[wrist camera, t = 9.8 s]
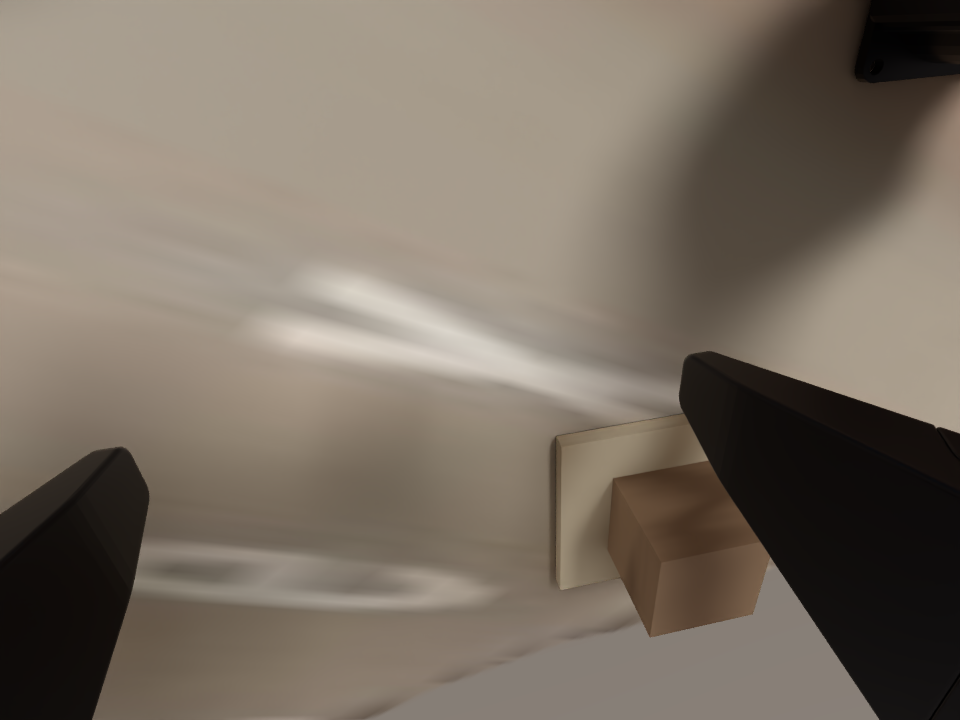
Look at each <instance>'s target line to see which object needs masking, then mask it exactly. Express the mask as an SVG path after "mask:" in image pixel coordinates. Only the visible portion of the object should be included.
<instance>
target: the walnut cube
mask: <svg viewBox="0 0 960 720" xmlns="http://www.w3.org/2000/svg"><path fill="white" fill-rule="evenodd" d="M607 550H608V552H609V554H610V556H611V558H612V560H613V562H614V564H615V566H616V568H617V570H618V573H619V575H620V577H621V579H622V581H623V583H624V585H625V587H626V589H627V591H628V593H629V595H630V597H631V599H632V601H633V604H634V606H635V608H636V610H637V612H638V614H639V616H640V618H641V620H642V622H643V624H644V626H645V628H646V630H647V633H648V634H649V637H654V636H659V635H663V634H668V633H672V632H676V631H681V630H685V629H690V628H694V627H698V626H703V625H707V624H712V623H716V622H721V621H725V620H729V619H734V618H738V617H742V616H747V615H751V614H753V612H754V608H755V605H756V602H757V598H758V595H759V592H760V588H761V585H762V582H763V578H764V575H765V572H766V569H767V565H768V562H769V559H770V556H769V554H768V553H767V551H766V550H765V548H764V547H763V545H762V544H761V542H760V541H759V539H758V538H757V536H756V535H755V533H754V532H753V530H752V529H751V527H750V526H749V524H748V523H747V521H746V520H745V518H744V517H743V515H742V514H741V512H740V511H739V509H738V508H737V506H736V505H735V503H734V502H733V500H732V499H731V497H730V496H729V494H728V493H727V491H726V490H725V488H724V487H723V485H722V484H721V482H720V480H719V479H718V477H717V475H716V473H715V472H714V470H713V468H712V466H711V464H710V462H709V460H708V461H703V462H698V463H692V464H687V465H682V466H676V467H671V468H665V469H660V470H655V471H649V472H644V473H639V474H633V475H628V476H623V477H617V478H613V484H612V497H611V510H610V523H609V536H608V549H607Z"/></svg>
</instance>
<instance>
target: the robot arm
mask: <svg viewBox="0 0 960 720" xmlns="http://www.w3.org/2000/svg"><path fill="white" fill-rule="evenodd" d="M874 61H875V64H874V68H873V70H872V71H871V72H870V67H871V64H872V63H873V62H874ZM854 74H855V77H856V79H857V80H858V81H860V82H869V83H876V82H886V81H896V80H905V79H915V78H925V77H935V76H944V75H954V74H960V0H872V1H871V5H870V9H869V13H868V17H867V21H866V25H865V29H864V33H863V37H862V41H861V45H860V49H859V53H858V57H857V61H856V66H855V73H854ZM679 401H680V405H681V408H682V410H683V412H684V414H685V416H686V418H687V420H688V422H689V424H690V426H691V428H692V430H693V432H694V434H695V435H696V437H697V439H698V441H699V443H700V445H701V447H702V449H703V451H704V453H705V455H706V457H707V459H708V460H709V462H710V464H711V466H712V468H713V470H714V472H715V473H716V475H717V477H718V479H719V480H720V482H721V484H722V485H723V487H724V488H725V490H726V491H727V493H728V494H729V496H730V497H731V499H732V500H733V502H734V503H735V505H736V506H737V508H738V509H739V511H740V512H741V514H742V515H743V517H744V518H745V520H746V521H747V523H748V524H749V526H750V527H751V529H752V530H753V532H754V533H755V535H756V536H757V538H758V539H759V541H760V542H761V544H762V545H763V547H764V548H765V550H766V551H767V553H768V554H769V556H770V557H771V559H772V560H773V562H774V563H775V565H776V566H777V568H778V569H779V571H780V572H781V573H782V575H783V576H784V578H785V579H786V581H787V582H788V584H789V585H790V587H791V588H792V590H793V591H794V593H795V594H796V596H797V597H798V599H799V600H800V602H801V603H802V605H803V606H804V608H805V609H806V611H807V612H808V614H809V615H810V617H811V618H812V620H813V621H814V622H815V624H816V626H817V627H818V629H819V630H820V632H821V633H822V635H823V636H824V637H825V639H826V640H827V642H828V644H829V645H830V647H831V648H832V649H833V651H834V653H835V654H836V655H837V657H838V658H839V660H840V662H841V663H842V664H843V666H844V667H845V669H846V670H847V672H848V673H849V675H850V676H851V678H852V679H853V681H854V682H855V684H856V685H857V687H858V688H859V690H860V691H861V693H862V694H863V696H864V697H865V699H866V700H867V702H868V703H869V705H870V706H871V708H872V709H873V711H874V712H875V714H876V715H877V717H878V718H879V720H960V433H957V432H954V431H951V430H948V429H945V428H942V427H938V428H936V427H935V426H934V425H932V424H929V423H926V422H923V421H920V420H917V419H914V418H911V417H908V416H905V415H902V414H899V413H896V412H893V411H890V410H887V409H884V408H881V407H878V406H875V405H872V404H869V403H866V402H863V401H860V400H857V399H854V398H851V397H848V396H845V395H842V394H839V393H836V392H833V391H830V390H827V389H824V388H821V387H818V386H815V385H812V384H809V383H806V382H803V381H800V380H797V379H793V378H790V377H787V376H784V375H781V374H778V373H775V372H772V371H769V370H766V369H763V368H760V367H757V366H754V365H751V364H748V363H745V362H742V361H739V360H736V359H733V358H730V357H727V356H724V355H721V354H718V353H715V352H712V351H706V352H700V353H694V354H690V355H688V356H687V357H686V358H685V360H684V363H683V370H682V377H681V384H680V391H679ZM148 505H149V490H148V487H147V484H146V482H145V480H144V478H143V477H142V475H141V473H140V471H139V469H138V467H137V465H136V463H135V461H134V459H133V457H132V455H131V453H130V452H129V451H128V450H127V449H126V448H123V447H115V448H108V449H102V450H96V451H93V452H91V453H90V454H88V455H87V456H85V457H84V458H82V459H81V460H79V461H78V462H76V463H75V464H74V465H72V466H71V467H69V468H68V469H66V470H65V471H63V472H62V473H60V474H59V475H57V476H56V477H54V478H53V479H51V480H50V481H49V482H47V483H46V484H44V485H43V486H41V487H40V488H38V489H37V490H35V491H34V492H32V493H31V494H29V495H28V496H26V497H25V498H24V499H22V500H21V501H19V502H18V503H16V504H15V505H13V506H12V507H10V508H9V509H7V510H6V511H4V512H3V513H1V514H0V720H92V718H93V715H94V712H95V709H96V705H97V702H98V699H99V696H100V693H101V690H102V686H103V683H104V680H105V677H106V674H107V670H108V667H109V664H110V661H111V658H112V654H113V651H114V648H115V645H116V642H117V639H118V635H119V632H120V629H121V626H122V623H123V619H124V616H125V613H126V610H127V606H128V603H129V599H130V596H131V592H132V588H133V584H134V579H135V574H136V569H137V564H138V558H139V553H140V548H141V542H142V537H143V532H144V526H145V521H146V516H147V510H148Z"/></svg>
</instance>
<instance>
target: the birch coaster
mask: <svg viewBox="0 0 960 720" xmlns="http://www.w3.org/2000/svg"><path fill="white" fill-rule="evenodd" d="M703 461H708V459H707V457H706V455H705V453H704V451H703V449H702V447H701V445H700V443H699V441H698V439H697V437H696V435H695V434H694V432H693V430H692V428H691V426H690V424H689V422H688V420H687V418H686V416H685V414H679V415H673V416H668V417H662V418H656V419H651V420H645V421H639V422H634V423H628V424H623V425H617V426H611V427H606V428H600V429H594V430H589V431H583V432H577V433H572V434H566V435H560V436H556V580H557V583H558V585H559V588H560V590H565V589H570V588H574V587H579V586H584V585H588V584H593V583H598V582H603V581H607V580H612V579H617V578H621V577H620V575H619V573H618V570H617V568H616V566H615V564H614V562H613V560H612V558H611V556H610V554H609V552H608V550H607V549H608V536H609V523H610V510H611V497H612V484H613V478H617V477H623V476H628V475H633V474H639V473H644V472H649V471H655V470H660V469H665V468H671V467H676V466H682V465H687V464H692V463H698V462H703Z"/></svg>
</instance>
